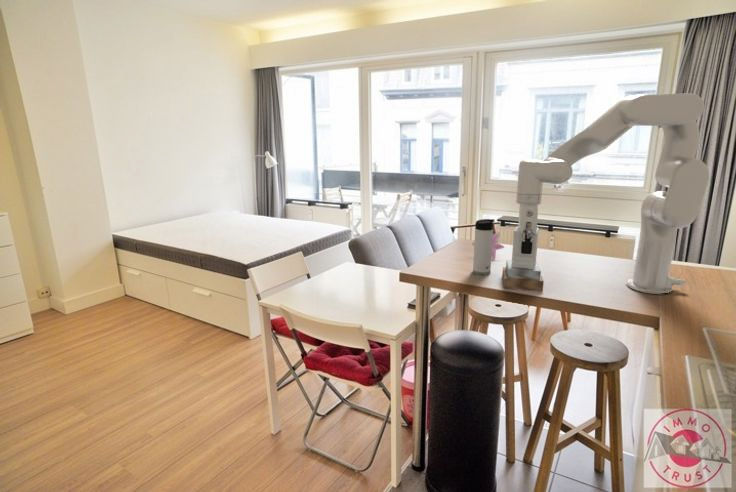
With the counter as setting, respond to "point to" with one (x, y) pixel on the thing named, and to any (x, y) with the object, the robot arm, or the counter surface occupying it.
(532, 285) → the brown napkin holder
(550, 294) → the counter surface
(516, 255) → the supplement box
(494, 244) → the lily
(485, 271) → the travel mug
